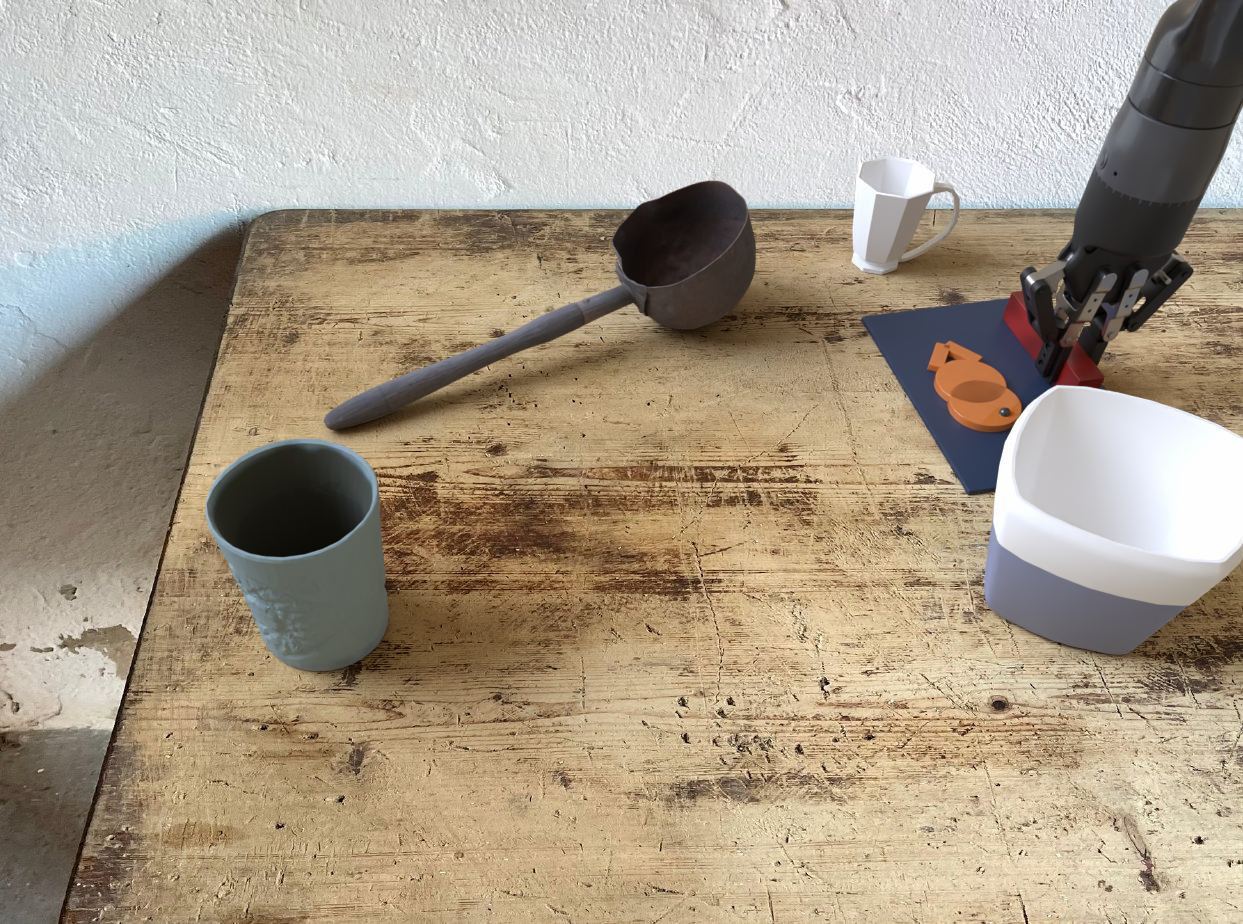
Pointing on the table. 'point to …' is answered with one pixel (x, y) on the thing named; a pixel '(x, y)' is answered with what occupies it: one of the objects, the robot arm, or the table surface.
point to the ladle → (616, 289)
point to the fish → (973, 389)
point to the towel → (970, 326)
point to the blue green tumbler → (305, 549)
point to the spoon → (1078, 364)
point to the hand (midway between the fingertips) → (1062, 373)
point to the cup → (893, 212)
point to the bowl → (1111, 517)
